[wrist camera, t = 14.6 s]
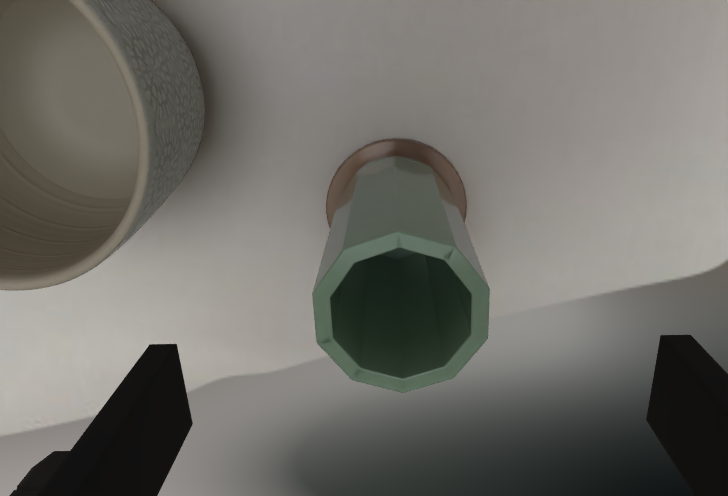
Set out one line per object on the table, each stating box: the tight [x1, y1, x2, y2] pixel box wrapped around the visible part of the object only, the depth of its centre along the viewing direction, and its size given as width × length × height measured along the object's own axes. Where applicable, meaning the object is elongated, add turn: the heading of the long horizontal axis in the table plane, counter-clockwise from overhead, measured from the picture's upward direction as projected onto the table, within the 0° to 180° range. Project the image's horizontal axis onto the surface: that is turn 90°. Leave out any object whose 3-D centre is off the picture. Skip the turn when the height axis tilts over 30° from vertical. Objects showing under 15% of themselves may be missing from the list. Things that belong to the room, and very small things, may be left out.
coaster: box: [326, 139, 467, 228], centre depth 31 cm, size 8×8×1 cm
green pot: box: [312, 156, 490, 393], centre depth 25 cm, size 6×6×12 cm
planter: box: [0, 0, 205, 290], centre depth 24 cm, size 12×12×11 cm
